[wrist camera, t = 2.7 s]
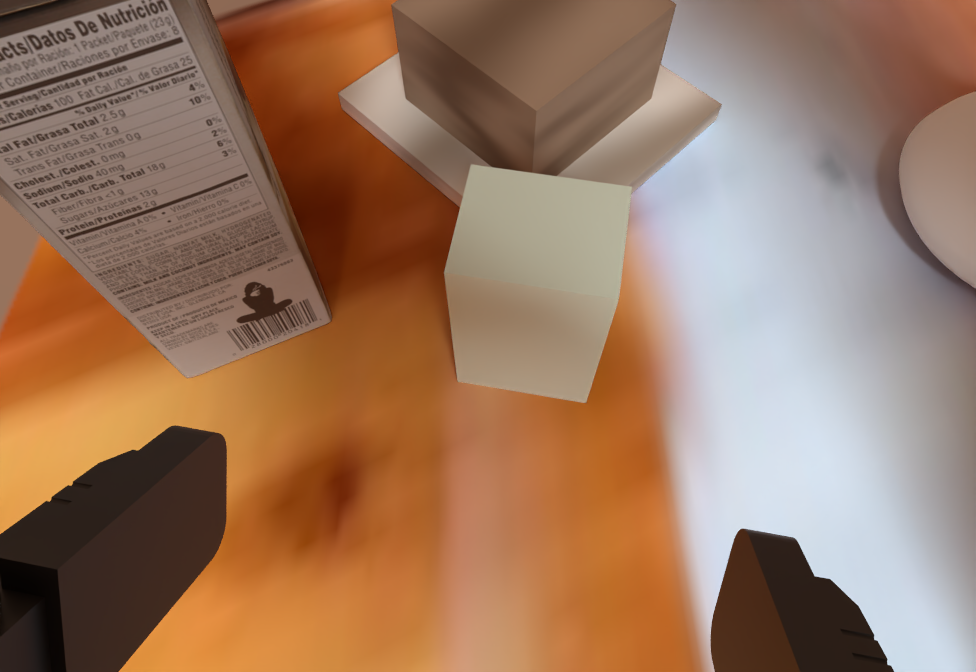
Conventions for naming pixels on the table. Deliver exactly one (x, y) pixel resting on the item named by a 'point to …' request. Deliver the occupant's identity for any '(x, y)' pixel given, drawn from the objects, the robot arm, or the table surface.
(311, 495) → the table surface
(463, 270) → the sage brick
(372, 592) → the table surface
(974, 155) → the flower in vase
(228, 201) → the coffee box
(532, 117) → the tower base
